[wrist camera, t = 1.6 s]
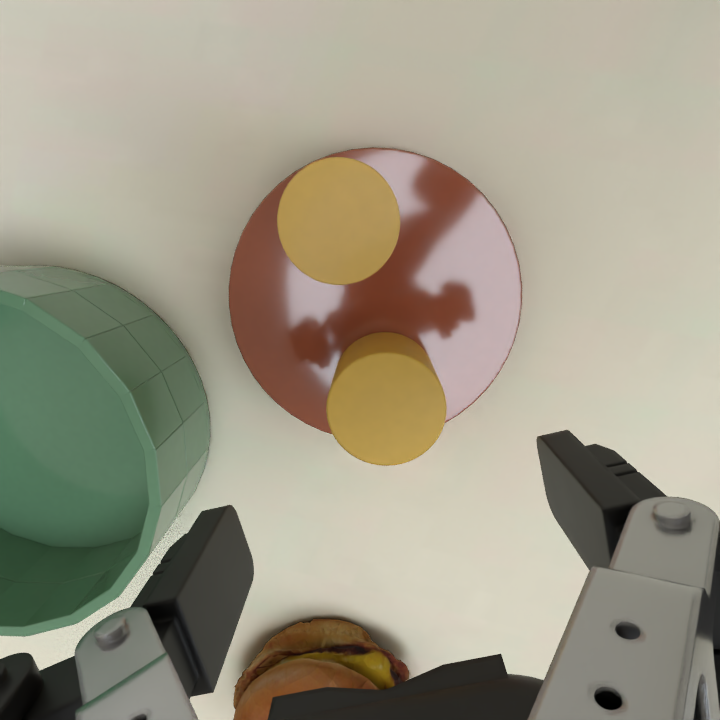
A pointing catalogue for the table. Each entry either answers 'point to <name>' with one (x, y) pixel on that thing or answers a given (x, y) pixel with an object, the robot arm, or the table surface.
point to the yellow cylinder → (338, 220)
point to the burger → (314, 665)
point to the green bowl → (87, 443)
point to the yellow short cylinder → (386, 400)
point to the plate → (383, 291)
